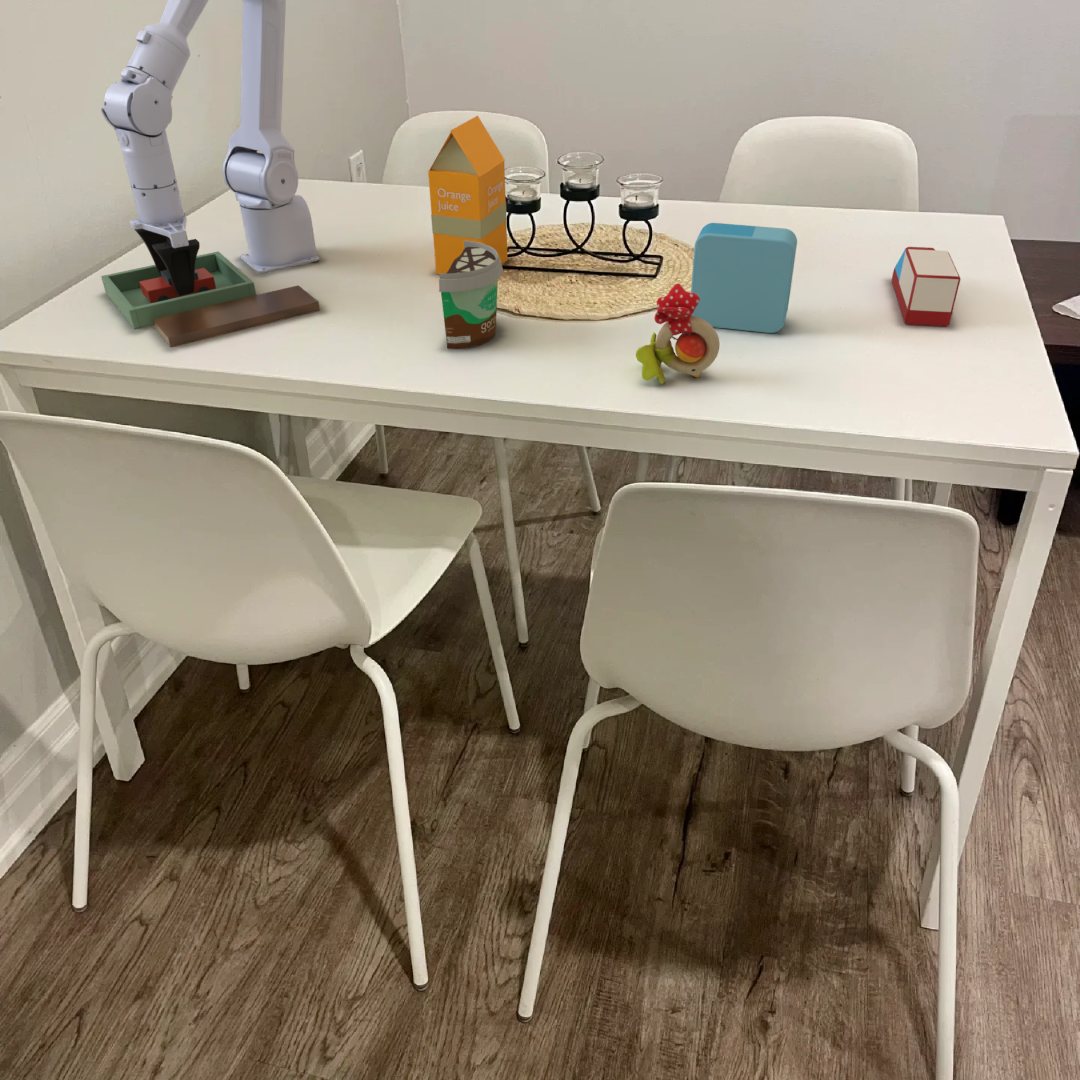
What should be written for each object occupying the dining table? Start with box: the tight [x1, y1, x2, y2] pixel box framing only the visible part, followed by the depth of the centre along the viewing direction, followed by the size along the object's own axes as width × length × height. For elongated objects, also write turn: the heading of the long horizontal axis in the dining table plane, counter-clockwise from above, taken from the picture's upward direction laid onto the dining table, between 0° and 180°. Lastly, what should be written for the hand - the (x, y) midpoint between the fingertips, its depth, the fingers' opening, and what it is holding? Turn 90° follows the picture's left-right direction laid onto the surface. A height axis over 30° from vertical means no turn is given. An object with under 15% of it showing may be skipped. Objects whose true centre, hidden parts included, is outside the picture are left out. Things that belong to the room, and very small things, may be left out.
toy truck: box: [891, 246, 961, 328], centre depth 131 cm, size 6×15×7 cm, turn 170°
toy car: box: [139, 268, 216, 303], centre depth 137 cm, size 9×4×3 cm, turn 123°
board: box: [153, 284, 321, 348], centre depth 131 cm, size 20×7×2 cm, turn 123°
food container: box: [438, 241, 504, 350], centre depth 124 cm, size 12×6×10 cm, turn 168°
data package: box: [690, 222, 798, 334], centre depth 125 cm, size 12×4×12 cm, turn 73°
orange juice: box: [427, 115, 509, 275], centre depth 140 cm, size 8×9×20 cm
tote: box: [100, 251, 257, 330], centre depth 137 cm, size 17×15×3 cm
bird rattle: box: [635, 283, 721, 385], centre depth 114 cm, size 6×11×9 cm
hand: (177, 284), depth 137 cm, fingers open, 7 cm apart
